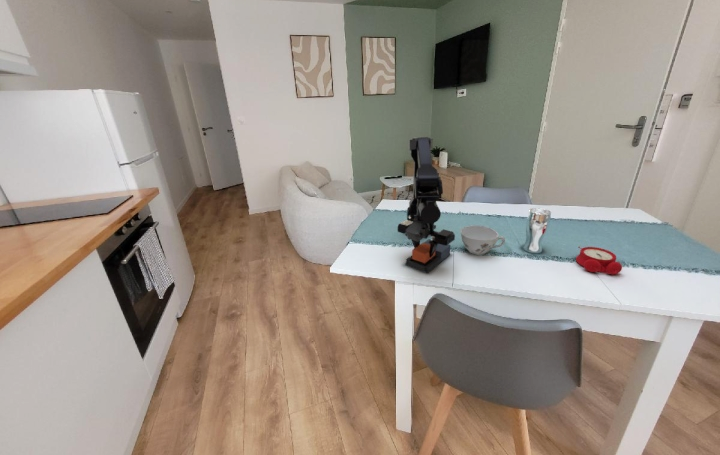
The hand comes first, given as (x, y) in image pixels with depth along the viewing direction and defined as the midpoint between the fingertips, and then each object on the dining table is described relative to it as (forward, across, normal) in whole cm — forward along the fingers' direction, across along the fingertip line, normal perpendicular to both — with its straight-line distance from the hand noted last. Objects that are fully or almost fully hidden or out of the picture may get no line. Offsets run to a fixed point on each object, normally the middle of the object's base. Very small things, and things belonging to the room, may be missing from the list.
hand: (423, 254), depth 100 cm
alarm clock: (+4, +45, +32) cm, 55 cm away
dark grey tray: (+3, 0, +3) cm, 5 cm away
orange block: (+1, 0, 0) cm, 1 cm away
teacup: (+4, +12, +20) cm, 24 cm away
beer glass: (+4, +26, +33) cm, 42 cm away
